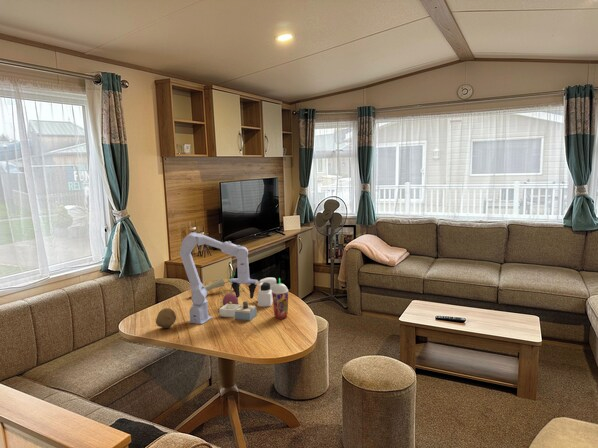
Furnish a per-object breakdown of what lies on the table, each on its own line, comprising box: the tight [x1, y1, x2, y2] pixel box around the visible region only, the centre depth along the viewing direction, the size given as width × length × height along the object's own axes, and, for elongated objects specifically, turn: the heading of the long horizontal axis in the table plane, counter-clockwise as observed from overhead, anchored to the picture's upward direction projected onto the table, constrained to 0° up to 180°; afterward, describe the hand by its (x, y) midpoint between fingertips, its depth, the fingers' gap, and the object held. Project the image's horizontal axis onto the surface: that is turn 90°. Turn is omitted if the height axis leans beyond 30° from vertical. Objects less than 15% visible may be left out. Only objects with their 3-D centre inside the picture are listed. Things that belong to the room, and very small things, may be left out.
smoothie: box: [272, 277, 289, 320], centre depth 203 cm, size 8×8×20 cm
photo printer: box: [258, 277, 277, 290], centre depth 232 cm, size 10×4×12 cm, turn 117°
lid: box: [236, 301, 257, 313], centre depth 205 cm, size 7×7×4 cm
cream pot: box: [218, 304, 242, 319], centre depth 210 cm, size 8×8×4 cm
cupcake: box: [222, 292, 239, 306], centre depth 219 cm, size 9×8×12 cm
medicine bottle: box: [256, 282, 273, 307], centre depth 223 cm, size 7×7×12 cm
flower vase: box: [203, 271, 242, 292], centre depth 247 cm, size 12×12×35 cm
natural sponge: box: [155, 307, 177, 329], centre depth 194 cm, size 9×9×10 cm
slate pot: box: [234, 307, 258, 322], centre depth 205 cm, size 8×8×4 cm
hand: (244, 297), depth 204 cm, fingers open, 7 cm apart
